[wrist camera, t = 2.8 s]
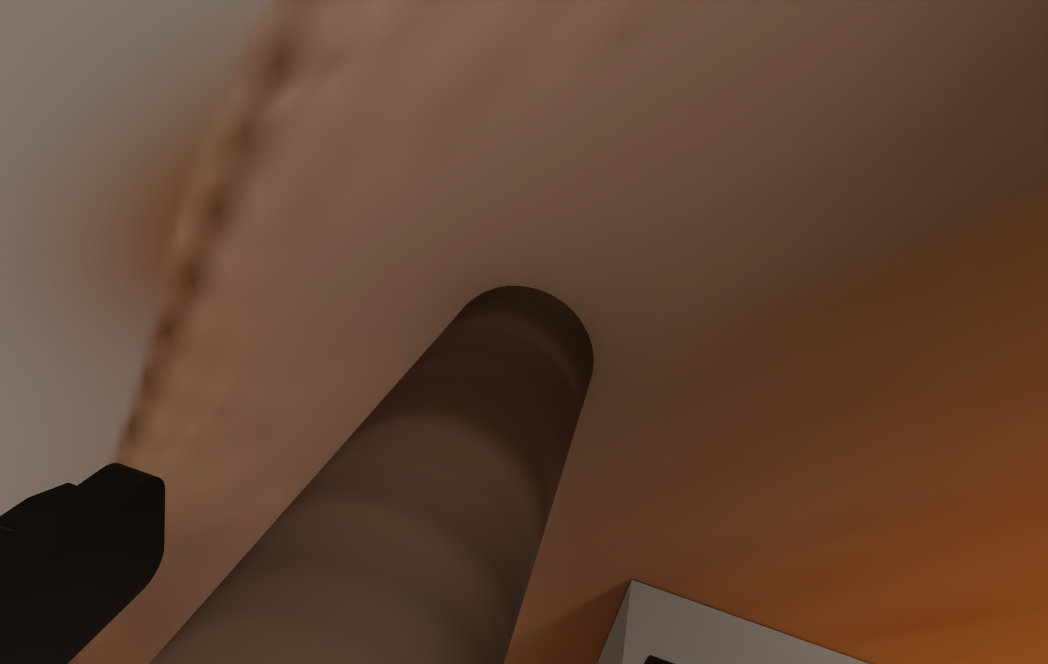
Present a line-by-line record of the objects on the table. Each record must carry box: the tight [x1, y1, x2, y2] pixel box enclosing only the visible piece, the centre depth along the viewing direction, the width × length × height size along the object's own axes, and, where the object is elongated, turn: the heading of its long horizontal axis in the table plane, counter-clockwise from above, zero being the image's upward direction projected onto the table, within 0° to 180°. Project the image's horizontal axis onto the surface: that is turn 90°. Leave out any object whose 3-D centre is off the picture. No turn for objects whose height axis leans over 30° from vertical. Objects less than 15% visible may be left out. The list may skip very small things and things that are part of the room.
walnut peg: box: [150, 286, 593, 664], centre depth 12 cm, size 4×4×14 cm
